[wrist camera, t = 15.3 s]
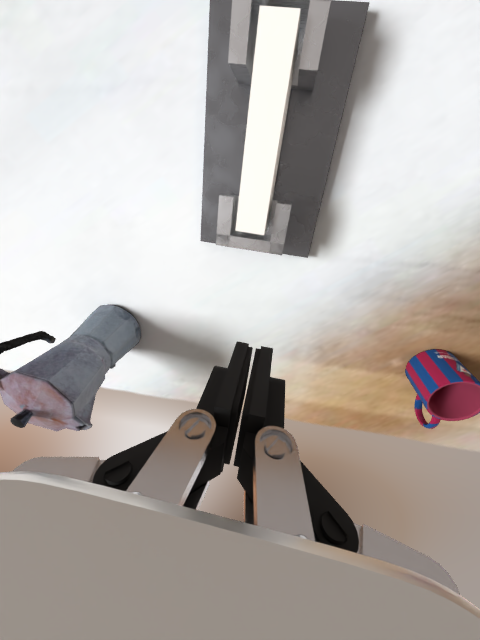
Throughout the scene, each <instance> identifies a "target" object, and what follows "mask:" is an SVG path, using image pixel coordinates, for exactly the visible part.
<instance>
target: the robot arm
mask: <svg viewBox="0 0 480 640" xmlns="http://www.w3.org/2000/svg"><path fill="white" fill-rule="evenodd" d="M248 345H249V344H247V343H242V342H237V343H236V346H235V349H234V352H233V354H232V357H231V360H230V363H229V366H228V368H223V367H218V366H215V367H214V368H213V371H212V373H211V375H210V378H209V380H208V382H207V385H206V387H205V390H204V392H203V394H202V397H201V399H200V401H199V404H198V406H197V409H191V410H188V411H185V412H184V413H182V414H181V415H180V416H179V417H178V418H177V419H176V420H175V422H174V423H173V425H172V426H171V427H170V429H169V430H168V431H167V432H165V433H163V434H160V435H158V436H156V437H154V438H151V439H149V440H147V441H145V442H143V443H140V444H138V445H136V446H134V447H131V448H129V449H127V450H125V451H122V452H120V453H118V454H116V455H113V456H112V457H110V458H108V459H107V460H100V459H99V457H38V458H33V459H30V460H28V461H26V462H24V463H22V464H21V465H19V466H18V467H16V468H15V469H14V470H13V471H12V472H2V473H0V640H480V609H479V608H478V607H476V606H475V605H474V604H472V603H471V602H470V601H468V600H467V599H465V598H463V597H462V596H460V593H459V591H458V588H457V586H456V584H455V582H454V581H453V579H452V578H451V576H450V575H449V573H448V572H447V571H446V570H445V569H444V568H443V567H442V566H441V565H440V564H439V563H437V562H436V561H434V560H433V559H432V558H430V557H428V556H426V555H424V554H422V553H420V552H418V551H416V550H414V549H412V548H410V547H408V546H406V545H404V544H402V543H400V542H398V541H396V540H394V539H392V538H390V537H388V536H386V535H384V534H382V533H380V532H378V531H376V530H374V529H372V528H370V527H368V526H366V525H364V524H363V525H362V526H359V525H357V524H355V523H353V521H352V520H351V518H350V517H349V516H348V514H347V513H346V512H345V511H344V510H343V509H342V507H341V506H340V505H339V504H338V503H337V502H336V501H335V499H334V498H333V497H332V496H331V495H330V494H329V493H328V492H327V490H326V489H325V488H324V487H323V486H322V485H321V484H320V482H318V480H317V479H316V478H315V477H314V476H313V475H312V473H311V472H310V471H309V470H308V469H307V468H306V467H305V465H303V463H302V462H301V461H300V458H299V452H298V447H297V444H296V441H295V439H294V437H293V436H292V435H291V434H290V433H289V432H288V431H287V430H285V429H284V408H285V380H282V379H277V378H272V377H270V371H271V362H272V353H273V348H268V347H263V346H261V349H257V348H256V352H255V356H254V361H253V366H252V370H251V375H250V380H249V385H248V389H247V394H246V399H245V403H244V408H243V413H242V419H241V425H240V431H239V437H238V443H237V449H236V455H235V461H234V466H238V467H239V470H238V476H237V479H238V480H239V482H240V483H241V485H242V487H243V488H244V499H243V502H244V503H243V522H241V521H237V520H233V519H229V518H225V517H222V516H218V515H214V514H210V513H206V512H203V511H199V508H200V505H201V503H202V501H203V498H204V496H205V494H206V491H207V489H208V487H209V484H210V480H211V479H213V478H215V477H216V476H218V475H220V473H221V472H222V471H223V466H224V463H225V464H230V460H231V455H232V450H233V446H234V441H235V437H236V432H237V427H238V422H239V419H240V414H241V410H242V405H243V400H244V396H245V390H246V384H247V378H248V372H249V366H250V360H251V354H252V347H248Z"/></svg>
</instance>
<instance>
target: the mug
mask: <svg viewBox="0 0 480 640" xmlns="http://www.w3.org/2000/svg"><path fill="white" fill-rule="evenodd" d="M405 373H406V376H407V378H408V379H409V381H410V383H411V384H412V386H413V388H414V389H415V391H416V393H417V396H416V400H415V413H416V416H417V419H418V421H419V422H420V424H421V425H422V426H424V427H426V428H431V429H433V428H435V427H436V426H437V425H438V424H439V422H440V420H446V421H459V420H464V419H468V418H470V417H473V416H475V415H477V414H478V413H480V382H479V381H478V380H477V379H476V378H475V377H474V376H473V375H472V374H471V373H470V372H469V371H468V370H467V369H466V367H465V366H464V365H463V364H462V363H461V362H460V361H459V360H458V359H457V358H456V357H455V356H454V355H453V354H451V353H450V352H448V351H445V350H439V349H433V350H427V351H423V352H421V353H419V354H417V355H415V356H414V357H413V358H412V359H411V360H410V361H409V362H408V363H407V366H406V369H405ZM422 403H423V404H424V406H425V407H426V409H427V411H428V412H429V413H430V414H431V415H432V419H431V421H430V423H429V424H428V423H427V422H426V421H425V419H424V416H423V413H422Z"/></svg>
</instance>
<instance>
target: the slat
mask: <svg viewBox="0 0 480 640" xmlns="http://www.w3.org/2000/svg"><path fill="white" fill-rule="evenodd" d="M300 10H301V8H287V7H274V6H260V8H259V17H258V27H257V36H256V45H255V54H254V63H253V73H252V82H251V91H250V100H249V109H248V119H247V128H246V137H245V146H244V155H243V165H242V174H241V183H240V192H239V201H238V211H237V220H236V229H235V231H240V232H247V233H253V234H259V235H264V234H265V232H266V230H267V229H268V224H269V218H270V212H271V206H272V200H273V194H274V188H275V182H276V176H277V170H278V164H279V158H280V152H281V146H282V140H283V134H284V127H285V121H286V115H287V109H288V103H289V97H290V91H291V85H292V79H293V73H294V67H295V61H296V55H297V49H298V43H299V28H300Z"/></svg>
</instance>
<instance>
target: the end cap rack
mask: <svg viewBox="0 0 480 640" xmlns="http://www.w3.org/2000/svg"><path fill="white" fill-rule="evenodd" d="M260 6H274V7H287V8H301V10H300V28H299V43H298V49H297V55H296V61H295V67H294V73H293V79H292V85H291V91H290V97H289V103H288V109H287V115H286V121H285V127H284V134H283V140H282V146H281V152H280V158H279V164H278V170H277V176H276V182H275V188H274V194H273V200H272V206H271V212H270V218H269V224H268V229H267V230H266V232H265V234H264V235H259V234H253V233H247V232H240V231H235V229H236V220H237V211H238V201H239V192H240V183H241V174H242V165H243V155H244V146H245V137H246V128H247V119H248V109H249V100H250V91H251V82H252V73H253V63H254V54H255V45H256V36H257V27H258V17H259V8H260ZM368 6H369V2H353V1H335V0H210V13H209V39H208V65H207V91H206V117H205V143H204V169H203V195H202V220H201V241H204V242H211V243H216V245H221V246H227V247H233V248H240V249H246V250H252V251H259V252H265V253H272V254H278V255H282V254H288V255H294V256H300V257H307V258H308V254H309V250H310V246H311V242H312V238H313V234H314V229H315V225H316V221H317V217H318V213H319V209H320V205H321V200H322V196H323V192H324V188H325V184H326V180H327V176H328V172H329V167H330V163H331V159H332V155H333V151H334V147H335V143H336V139H337V134H338V130H339V126H340V122H341V118H342V114H343V110H344V105H345V101H346V97H347V93H348V89H349V85H350V81H351V77H352V72H353V68H354V64H355V60H356V56H357V52H358V48H359V43H360V39H361V35H362V31H363V27H364V23H365V19H366V15H367V10H368Z"/></svg>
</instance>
